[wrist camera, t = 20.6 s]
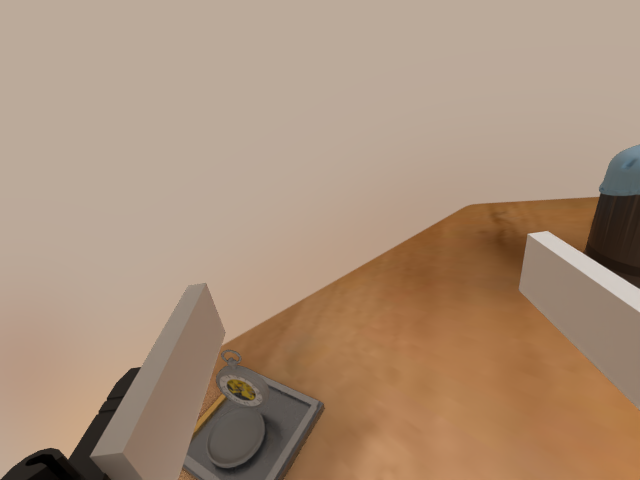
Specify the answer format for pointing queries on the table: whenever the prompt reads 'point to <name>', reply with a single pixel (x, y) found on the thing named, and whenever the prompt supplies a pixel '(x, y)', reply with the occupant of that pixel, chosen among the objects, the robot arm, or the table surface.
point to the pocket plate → (278, 443)
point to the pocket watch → (238, 416)
